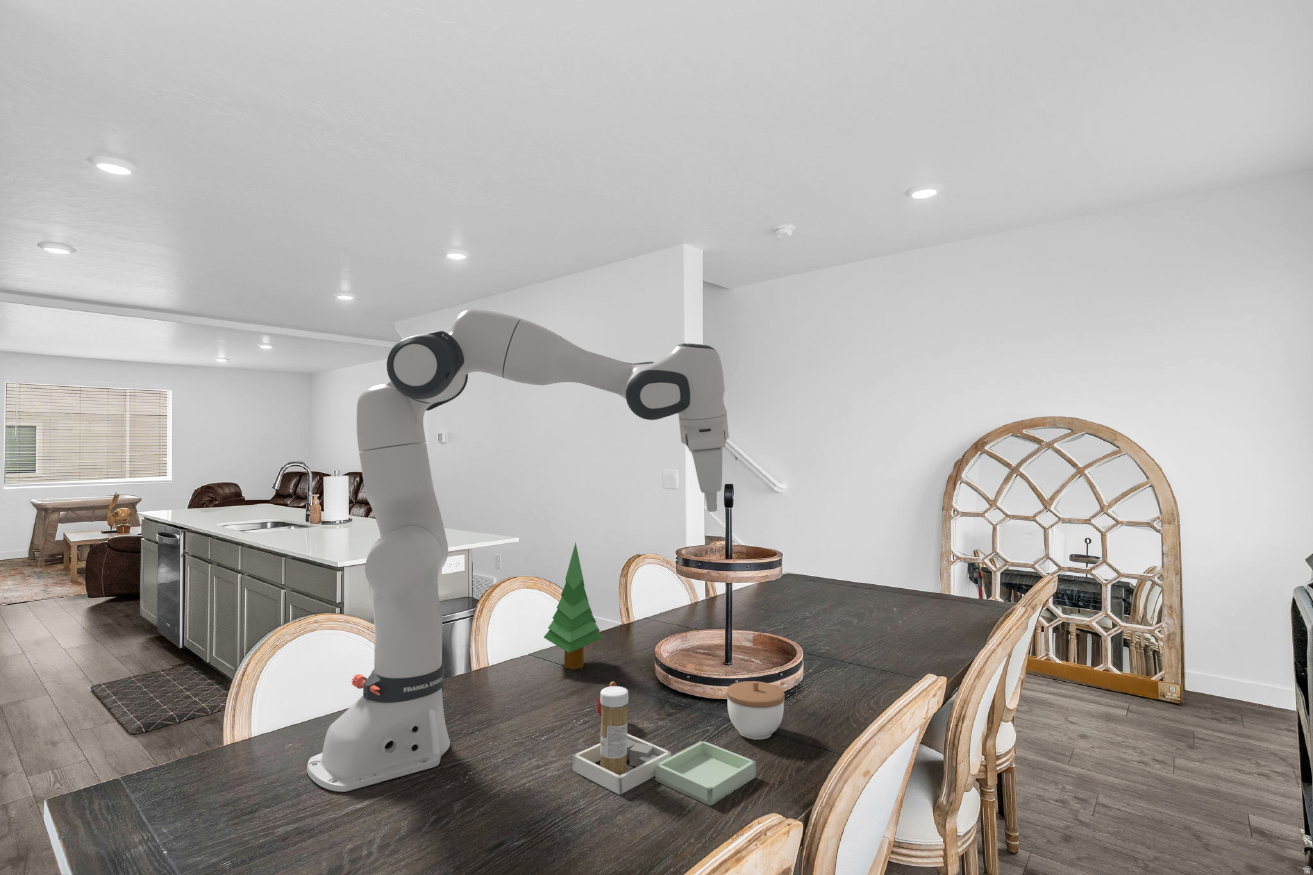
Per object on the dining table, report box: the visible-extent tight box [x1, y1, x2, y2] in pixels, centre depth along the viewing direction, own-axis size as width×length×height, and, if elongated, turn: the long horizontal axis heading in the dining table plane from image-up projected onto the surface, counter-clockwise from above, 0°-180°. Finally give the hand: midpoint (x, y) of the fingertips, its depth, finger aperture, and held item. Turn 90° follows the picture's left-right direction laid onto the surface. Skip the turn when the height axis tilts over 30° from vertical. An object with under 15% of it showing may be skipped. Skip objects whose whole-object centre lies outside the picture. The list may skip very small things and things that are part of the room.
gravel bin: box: [572, 733, 672, 796], centre depth 109 cm, size 12×11×3 cm
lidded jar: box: [726, 680, 786, 741], centre depth 123 cm, size 11×11×9 cm
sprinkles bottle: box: [599, 685, 629, 776], centre depth 107 cm, size 5×5×14 cm
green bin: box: [654, 740, 757, 807], centre depth 106 cm, size 12×11×2 cm
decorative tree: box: [543, 542, 605, 670], centre depth 160 cm, size 14×16×30 cm
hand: (710, 503), depth 124 cm, fingers open, 8 cm apart
